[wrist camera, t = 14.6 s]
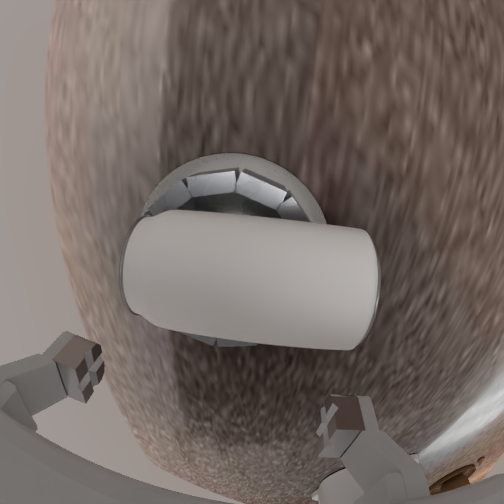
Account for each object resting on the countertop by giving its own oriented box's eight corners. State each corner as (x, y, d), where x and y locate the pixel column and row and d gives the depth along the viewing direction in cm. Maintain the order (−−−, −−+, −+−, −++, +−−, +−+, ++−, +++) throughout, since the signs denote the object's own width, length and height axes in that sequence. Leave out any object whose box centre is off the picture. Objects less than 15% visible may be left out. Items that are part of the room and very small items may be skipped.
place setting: (418, 498, 42) (423, 516, 37) (404, 482, 37) (410, 505, 31) (482, 464, 38) (489, 481, 32) (485, 437, 33) (495, 459, 27)
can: (344, 365, 16) (142, 339, 17) (343, 272, 20) (169, 253, 20) (390, 319, 11) (98, 284, 11) (372, 204, 14) (147, 182, 15)
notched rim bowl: (361, 272, 22) (374, 293, 18) (217, 355, 25) (211, 381, 22) (251, 111, 18) (248, 105, 15) (108, 231, 21) (86, 245, 18)
